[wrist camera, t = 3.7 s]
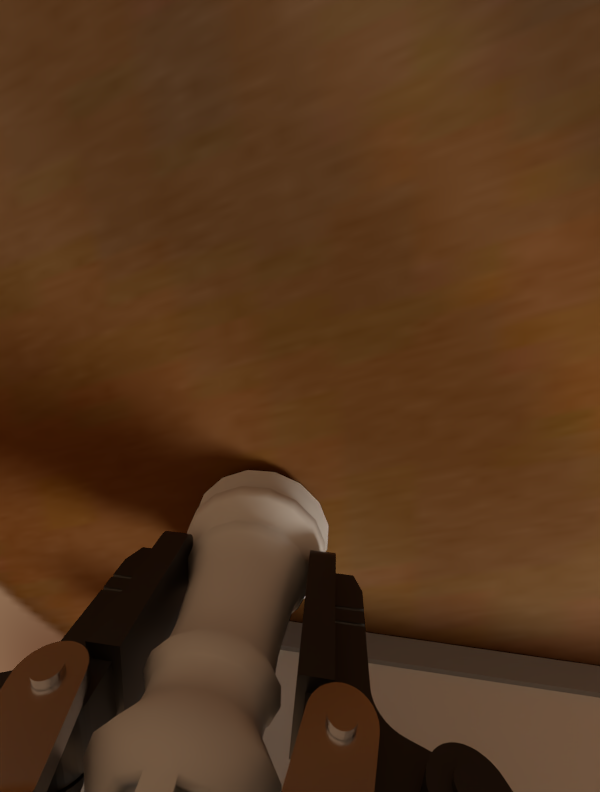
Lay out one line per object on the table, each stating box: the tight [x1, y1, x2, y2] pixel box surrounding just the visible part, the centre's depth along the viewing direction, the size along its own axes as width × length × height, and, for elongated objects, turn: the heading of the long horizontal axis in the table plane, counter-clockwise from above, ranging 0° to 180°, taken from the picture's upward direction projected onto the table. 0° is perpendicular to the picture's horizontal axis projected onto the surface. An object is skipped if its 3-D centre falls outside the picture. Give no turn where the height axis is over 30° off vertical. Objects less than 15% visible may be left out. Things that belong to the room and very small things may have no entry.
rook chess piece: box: [83, 470, 328, 792], centre depth 9 cm, size 4×4×8 cm
